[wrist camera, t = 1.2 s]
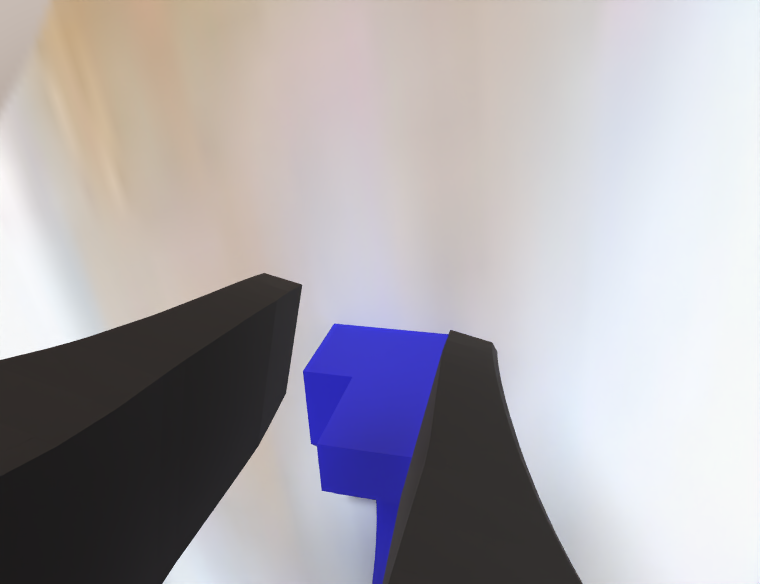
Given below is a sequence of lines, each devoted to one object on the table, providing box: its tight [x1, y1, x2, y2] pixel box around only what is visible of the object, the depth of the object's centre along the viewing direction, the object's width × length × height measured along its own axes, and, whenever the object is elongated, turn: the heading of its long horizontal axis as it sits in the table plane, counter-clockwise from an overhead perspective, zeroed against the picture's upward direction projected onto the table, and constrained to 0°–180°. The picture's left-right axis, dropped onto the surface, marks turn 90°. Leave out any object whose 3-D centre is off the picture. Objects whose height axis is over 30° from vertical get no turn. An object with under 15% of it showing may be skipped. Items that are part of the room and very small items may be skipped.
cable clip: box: [303, 324, 449, 584], centre depth 22 cm, size 12×4×6 cm, turn 2°
